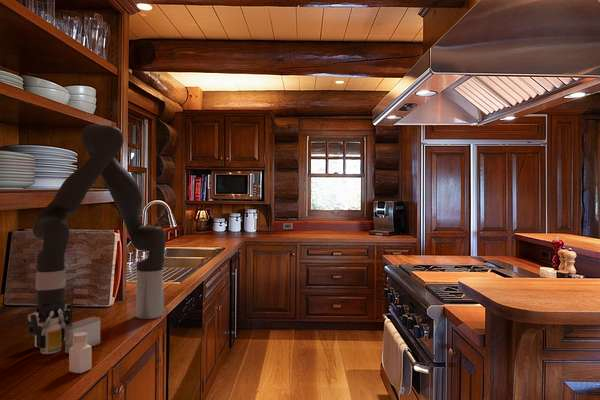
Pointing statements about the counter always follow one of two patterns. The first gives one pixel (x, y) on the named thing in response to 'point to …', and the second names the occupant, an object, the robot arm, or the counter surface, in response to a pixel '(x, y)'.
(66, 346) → the housing
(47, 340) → the supplement bottle
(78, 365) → the pepper shaker
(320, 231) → the counter surface
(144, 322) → the counter surface
